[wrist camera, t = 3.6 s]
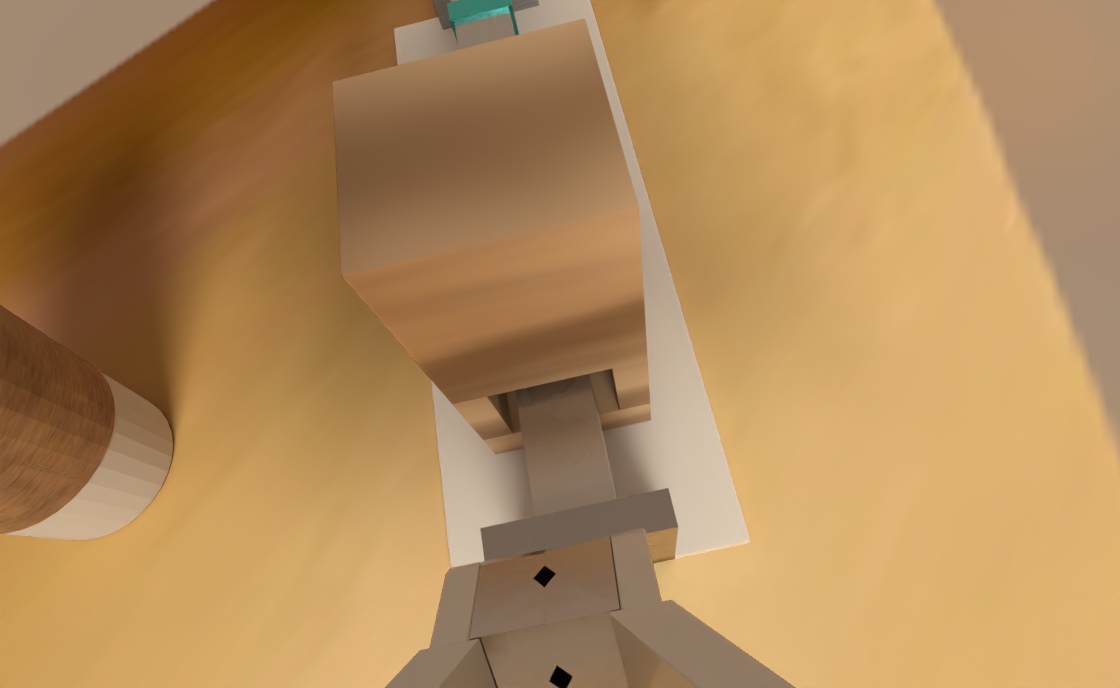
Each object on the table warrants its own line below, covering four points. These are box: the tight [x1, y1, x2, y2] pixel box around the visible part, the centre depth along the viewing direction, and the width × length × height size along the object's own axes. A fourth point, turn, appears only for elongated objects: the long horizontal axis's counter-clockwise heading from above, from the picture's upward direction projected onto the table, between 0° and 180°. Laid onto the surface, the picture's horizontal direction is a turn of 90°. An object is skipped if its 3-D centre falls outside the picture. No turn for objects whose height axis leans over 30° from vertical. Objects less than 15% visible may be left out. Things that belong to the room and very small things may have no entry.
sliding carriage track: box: [432, 0, 678, 563], centre depth 26 cm, size 28×5×7 cm, turn 11°
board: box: [394, 0, 750, 568], centre depth 29 cm, size 28×10×1 cm, turn 11°
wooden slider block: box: [332, 18, 651, 454], centre depth 19 cm, size 5×6×13 cm
